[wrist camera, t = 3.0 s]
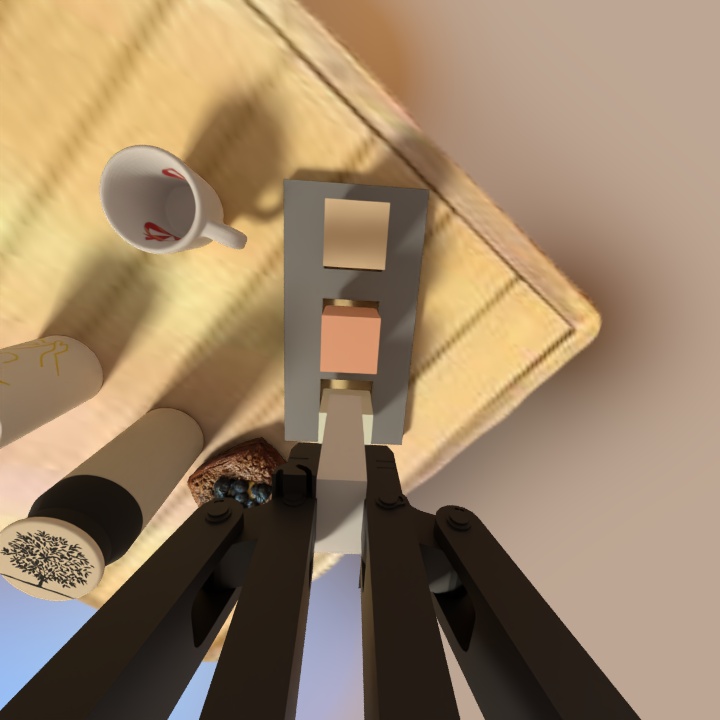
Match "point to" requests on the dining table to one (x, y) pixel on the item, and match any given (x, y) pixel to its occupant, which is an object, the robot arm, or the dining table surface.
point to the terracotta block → (349, 339)
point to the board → (315, 282)
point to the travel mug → (99, 508)
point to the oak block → (355, 233)
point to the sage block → (366, 411)
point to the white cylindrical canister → (44, 383)
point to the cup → (162, 203)
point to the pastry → (238, 474)
